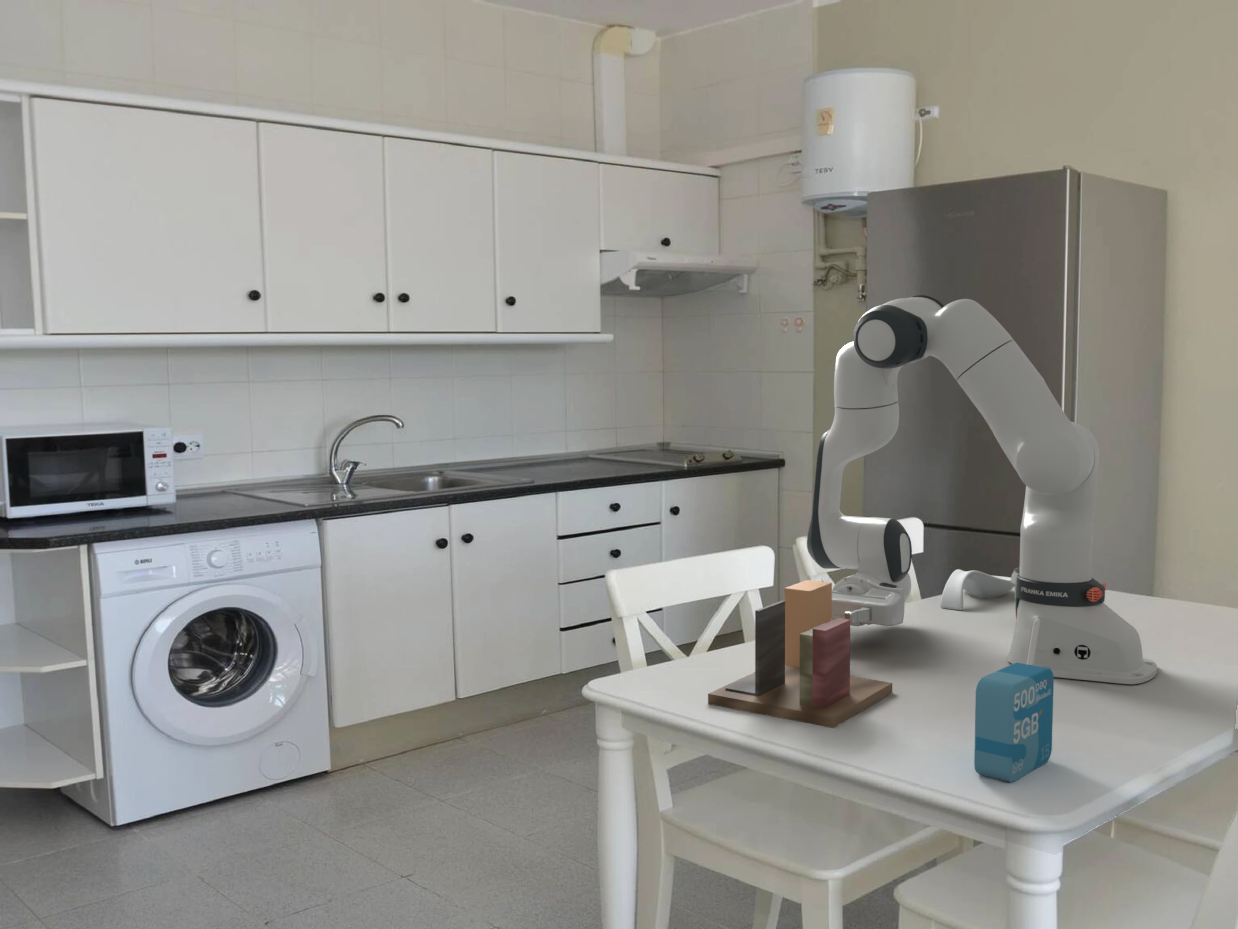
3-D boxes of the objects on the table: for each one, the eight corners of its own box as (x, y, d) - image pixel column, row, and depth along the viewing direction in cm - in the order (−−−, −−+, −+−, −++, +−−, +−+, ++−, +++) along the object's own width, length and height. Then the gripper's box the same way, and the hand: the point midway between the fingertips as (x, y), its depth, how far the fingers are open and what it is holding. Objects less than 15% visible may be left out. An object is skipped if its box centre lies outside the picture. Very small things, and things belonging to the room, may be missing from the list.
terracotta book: (831, 660, 199) (831, 582, 198) (809, 671, 192) (809, 591, 191) (806, 656, 201) (807, 579, 200) (784, 667, 195) (784, 588, 194)
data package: (1008, 786, 142) (1011, 686, 141) (973, 777, 145) (975, 679, 144) (1052, 760, 150) (1054, 666, 149) (1017, 752, 154) (1020, 659, 152)
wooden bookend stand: (892, 692, 180) (893, 600, 179) (833, 727, 164) (834, 626, 162) (773, 672, 192) (773, 586, 190) (708, 703, 175) (707, 609, 174)
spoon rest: (969, 588, 257) (970, 554, 257) (1024, 594, 250) (1025, 560, 249) (923, 607, 239) (924, 572, 238) (981, 615, 232) (982, 578, 231)
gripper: (804, 576, 217) (767, 589, 206) (912, 588, 205) (879, 602, 194) (804, 610, 218) (767, 625, 207) (911, 624, 206) (878, 641, 195)
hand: (822, 614), depth 200 cm, fingers open, 8 cm apart
